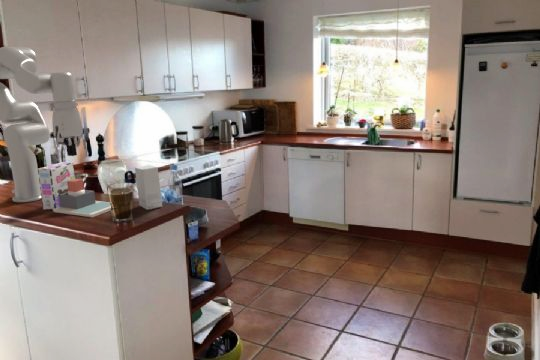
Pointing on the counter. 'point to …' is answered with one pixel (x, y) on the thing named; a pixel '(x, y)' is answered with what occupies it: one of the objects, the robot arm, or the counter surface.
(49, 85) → the robot arm
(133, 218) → the counter surface
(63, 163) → the candy box
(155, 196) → the skincare box
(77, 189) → the die plunger
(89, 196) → the grey block on board
